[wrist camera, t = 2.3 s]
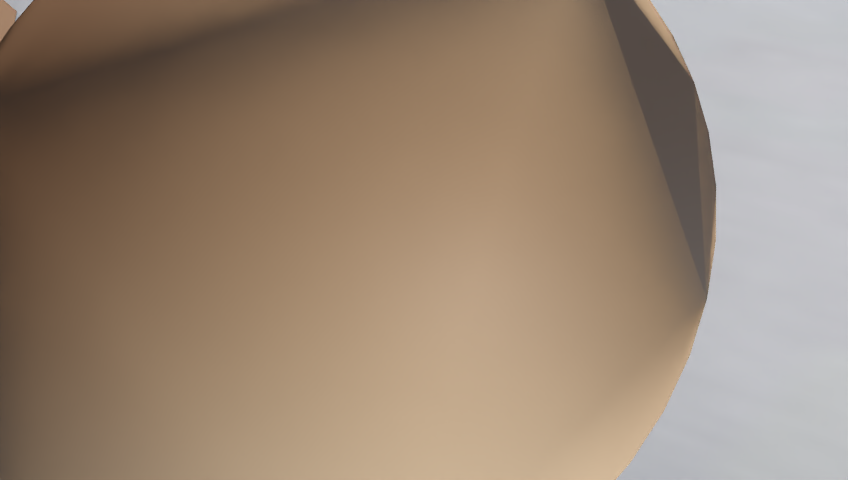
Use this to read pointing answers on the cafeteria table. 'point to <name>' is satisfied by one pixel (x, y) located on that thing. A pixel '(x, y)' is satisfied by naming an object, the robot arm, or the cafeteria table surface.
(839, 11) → the cafeteria table surface
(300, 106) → the beech pin
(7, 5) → the socket block
